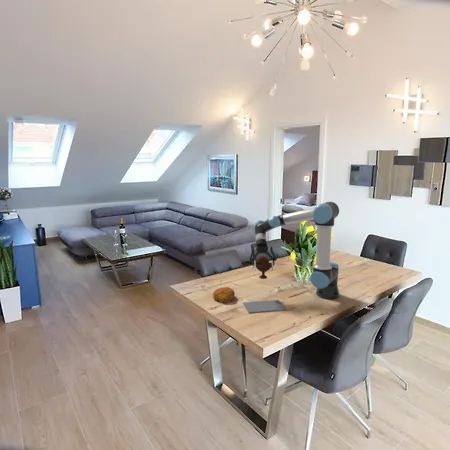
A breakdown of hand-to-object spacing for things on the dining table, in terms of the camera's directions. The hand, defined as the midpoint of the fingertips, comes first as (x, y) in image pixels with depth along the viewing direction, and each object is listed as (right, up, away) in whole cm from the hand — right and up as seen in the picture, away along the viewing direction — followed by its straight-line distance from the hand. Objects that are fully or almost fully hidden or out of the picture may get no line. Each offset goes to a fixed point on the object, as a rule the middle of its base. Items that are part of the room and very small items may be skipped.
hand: (264, 270), depth 221 cm
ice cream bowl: (0, -6, +4) cm, 7 cm away
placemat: (-1, -22, -9) cm, 24 cm away
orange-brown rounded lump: (-26, -19, +3) cm, 33 cm away
